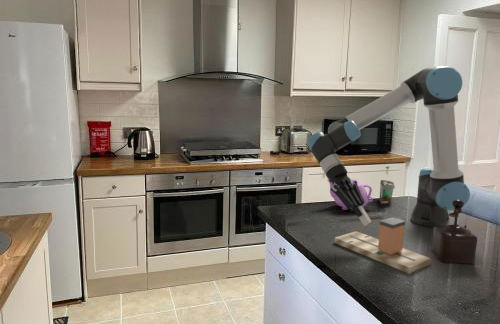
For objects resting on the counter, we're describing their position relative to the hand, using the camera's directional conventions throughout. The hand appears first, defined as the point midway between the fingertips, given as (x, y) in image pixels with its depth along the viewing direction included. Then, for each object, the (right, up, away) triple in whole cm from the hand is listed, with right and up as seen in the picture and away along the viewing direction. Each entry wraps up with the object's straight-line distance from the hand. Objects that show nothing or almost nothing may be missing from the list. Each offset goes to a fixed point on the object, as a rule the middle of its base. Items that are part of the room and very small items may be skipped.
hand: (367, 223), depth 141 cm
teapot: (+5, 0, +49) cm, 49 cm away
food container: (+27, +1, +60) cm, 65 cm away
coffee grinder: (+27, -10, -3) cm, 29 cm away
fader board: (+3, -10, -3) cm, 11 cm away
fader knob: (+6, -8, -6) cm, 12 cm away
